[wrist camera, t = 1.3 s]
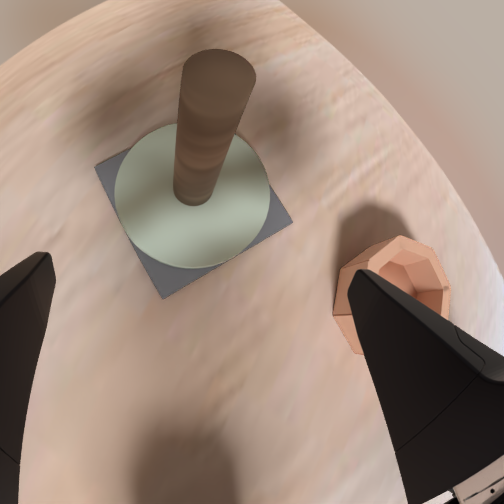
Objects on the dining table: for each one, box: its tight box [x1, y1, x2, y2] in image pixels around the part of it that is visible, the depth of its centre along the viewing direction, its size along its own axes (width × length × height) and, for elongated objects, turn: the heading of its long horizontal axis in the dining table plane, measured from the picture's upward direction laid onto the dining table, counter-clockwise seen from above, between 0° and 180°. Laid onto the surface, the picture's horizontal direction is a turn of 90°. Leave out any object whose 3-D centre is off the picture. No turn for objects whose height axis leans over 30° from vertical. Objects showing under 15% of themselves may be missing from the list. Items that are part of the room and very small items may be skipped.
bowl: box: [333, 235, 451, 355], centre depth 23 cm, size 9×9×4 cm
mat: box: [94, 134, 293, 299], centre depth 23 cm, size 11×11×1 cm
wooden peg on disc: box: [114, 49, 270, 269], centre depth 16 cm, size 11×11×12 cm
